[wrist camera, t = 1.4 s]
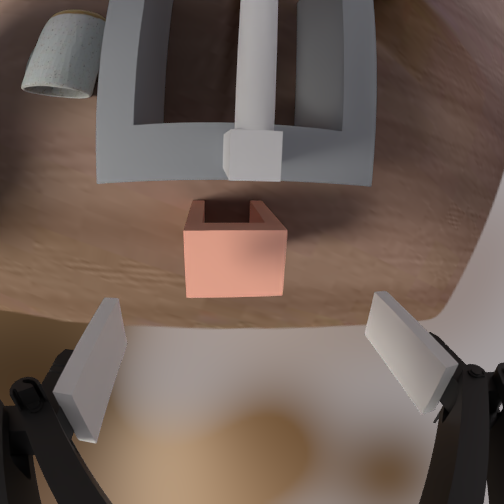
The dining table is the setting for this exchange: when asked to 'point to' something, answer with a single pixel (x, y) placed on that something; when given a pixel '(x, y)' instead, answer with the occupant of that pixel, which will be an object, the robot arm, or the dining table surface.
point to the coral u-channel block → (234, 254)
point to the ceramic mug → (66, 55)
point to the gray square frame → (242, 99)
